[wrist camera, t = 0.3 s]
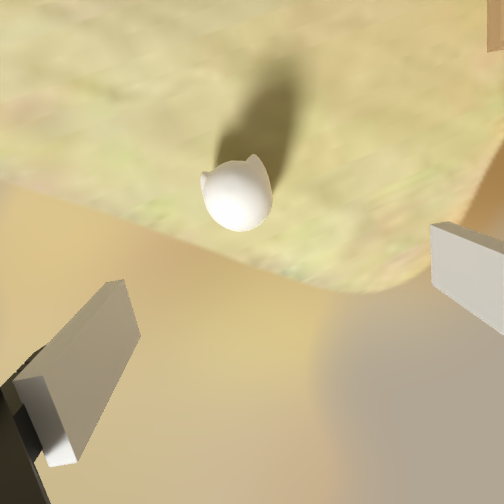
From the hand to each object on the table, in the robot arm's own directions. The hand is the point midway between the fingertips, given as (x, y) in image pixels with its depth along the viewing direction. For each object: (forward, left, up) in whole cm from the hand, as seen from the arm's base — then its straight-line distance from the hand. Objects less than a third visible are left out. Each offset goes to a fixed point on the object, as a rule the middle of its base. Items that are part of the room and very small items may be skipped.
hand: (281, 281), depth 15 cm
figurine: (-1, -1, -28) cm, 28 cm away
